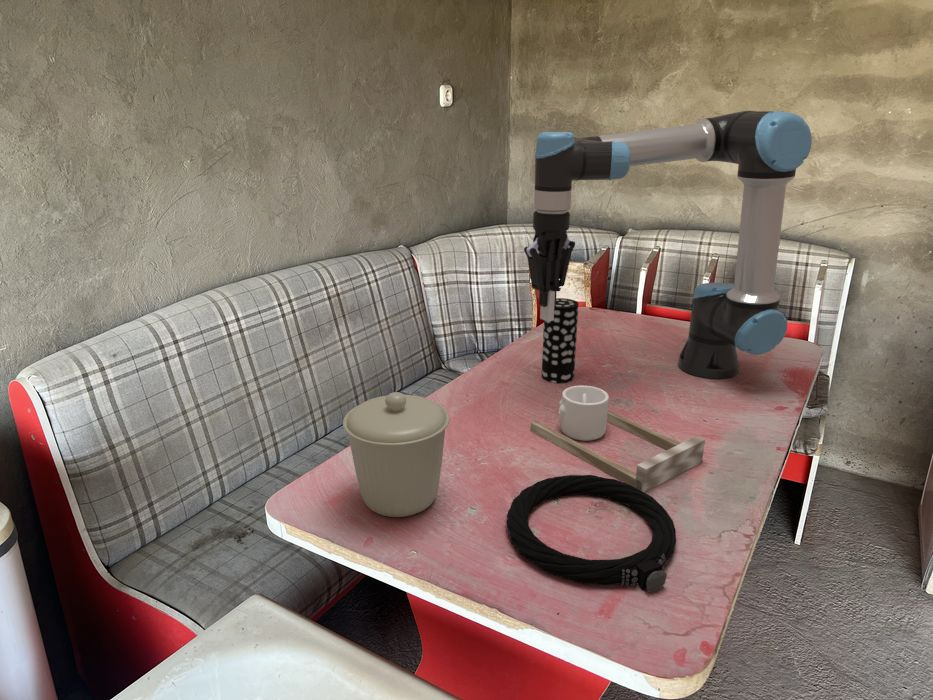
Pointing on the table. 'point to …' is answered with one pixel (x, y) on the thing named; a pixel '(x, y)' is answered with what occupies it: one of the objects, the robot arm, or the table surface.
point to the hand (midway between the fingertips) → (546, 319)
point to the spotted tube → (560, 342)
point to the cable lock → (626, 570)
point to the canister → (397, 451)
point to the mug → (583, 412)
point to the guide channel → (648, 471)
